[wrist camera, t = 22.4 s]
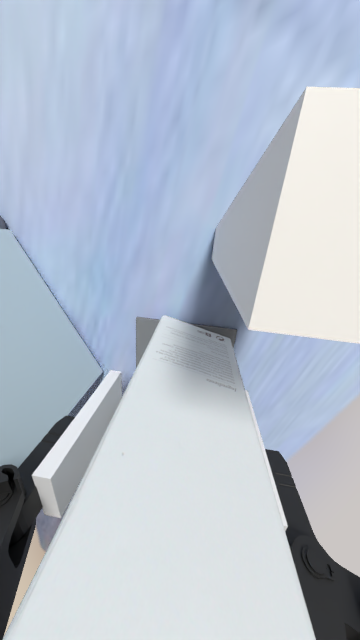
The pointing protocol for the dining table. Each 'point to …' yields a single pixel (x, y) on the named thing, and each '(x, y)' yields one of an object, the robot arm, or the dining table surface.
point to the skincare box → (172, 516)
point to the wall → (300, 225)
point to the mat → (148, 326)
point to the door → (35, 356)
